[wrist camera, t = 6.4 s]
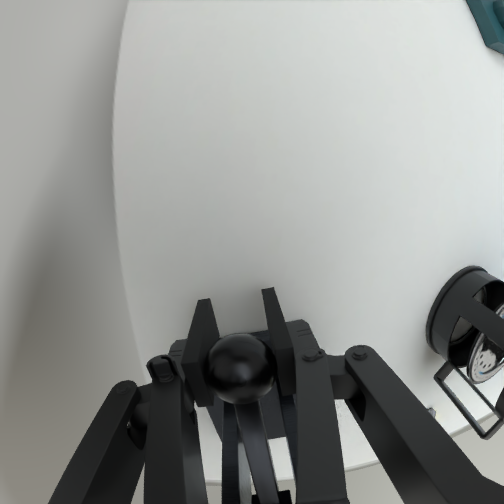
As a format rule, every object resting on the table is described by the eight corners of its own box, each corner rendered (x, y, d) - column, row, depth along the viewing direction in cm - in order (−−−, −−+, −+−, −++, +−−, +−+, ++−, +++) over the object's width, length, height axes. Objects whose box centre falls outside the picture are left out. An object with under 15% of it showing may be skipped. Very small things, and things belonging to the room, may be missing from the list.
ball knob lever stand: (186, 342, 20) (149, 514, 7) (307, 321, 20) (380, 487, 7) (223, 436, 23) (223, 558, 10) (314, 421, 23) (349, 541, 10)
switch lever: (204, 334, 13) (189, 345, 10) (268, 324, 13) (272, 333, 10) (251, 517, 11) (250, 549, 8) (302, 510, 11) (308, 542, 8)
